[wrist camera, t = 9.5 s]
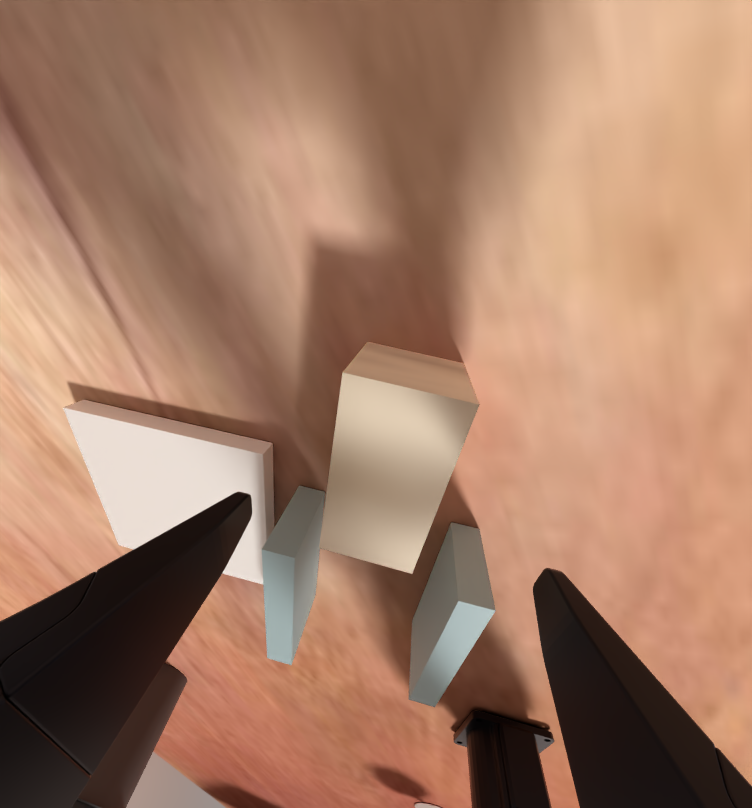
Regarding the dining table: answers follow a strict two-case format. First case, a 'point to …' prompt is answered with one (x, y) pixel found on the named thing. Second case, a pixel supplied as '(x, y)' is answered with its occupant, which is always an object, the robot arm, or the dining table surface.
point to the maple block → (393, 452)
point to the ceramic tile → (173, 476)
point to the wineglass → (425, 805)
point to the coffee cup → (133, 744)
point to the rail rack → (434, 618)
